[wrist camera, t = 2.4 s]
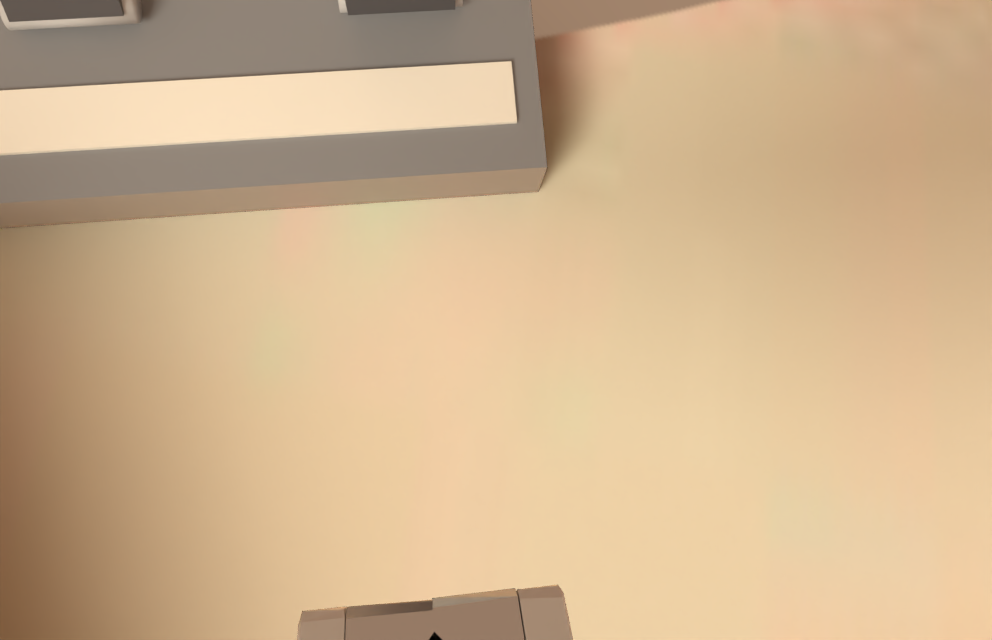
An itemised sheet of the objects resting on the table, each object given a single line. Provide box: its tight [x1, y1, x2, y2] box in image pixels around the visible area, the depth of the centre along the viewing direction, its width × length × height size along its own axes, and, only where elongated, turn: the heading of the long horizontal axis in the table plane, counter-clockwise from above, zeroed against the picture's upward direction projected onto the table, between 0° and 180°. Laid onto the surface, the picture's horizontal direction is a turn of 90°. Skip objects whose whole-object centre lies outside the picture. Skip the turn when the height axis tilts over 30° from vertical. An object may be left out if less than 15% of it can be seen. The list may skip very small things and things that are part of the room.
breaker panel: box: [0, 0, 547, 228], centre depth 37 cm, size 22×16×3 cm
